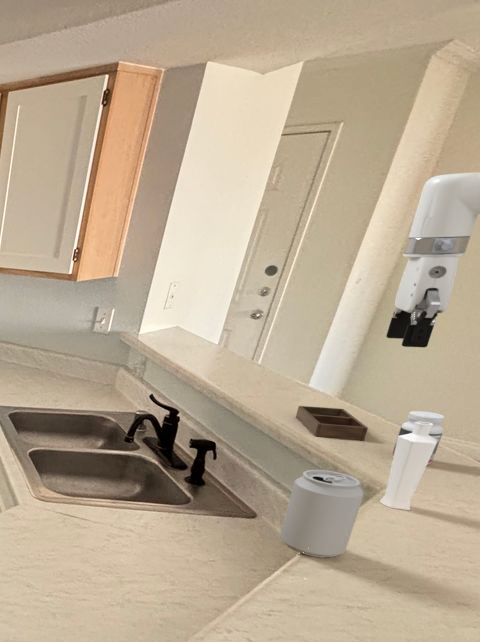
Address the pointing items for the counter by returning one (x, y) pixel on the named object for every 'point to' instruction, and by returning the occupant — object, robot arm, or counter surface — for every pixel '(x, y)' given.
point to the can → (321, 513)
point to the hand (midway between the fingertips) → (405, 342)
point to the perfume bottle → (408, 465)
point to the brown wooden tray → (331, 423)
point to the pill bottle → (424, 417)
